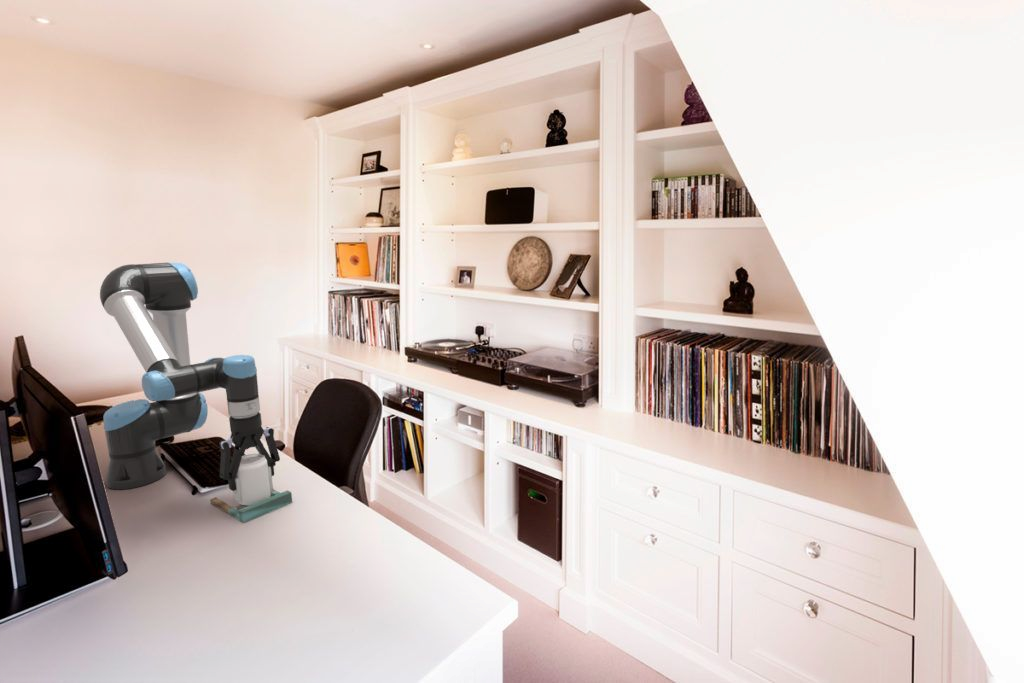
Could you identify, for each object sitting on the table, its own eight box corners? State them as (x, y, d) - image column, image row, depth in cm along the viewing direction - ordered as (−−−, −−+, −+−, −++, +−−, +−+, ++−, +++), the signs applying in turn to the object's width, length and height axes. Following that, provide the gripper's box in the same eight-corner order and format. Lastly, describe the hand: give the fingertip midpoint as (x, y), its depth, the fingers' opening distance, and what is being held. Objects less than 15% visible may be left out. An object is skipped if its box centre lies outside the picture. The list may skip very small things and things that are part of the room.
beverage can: (258, 508, 143) (253, 466, 141) (231, 505, 145) (226, 463, 143) (277, 494, 151) (272, 453, 149) (251, 492, 153) (246, 451, 150)
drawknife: (210, 503, 150) (209, 493, 149) (258, 485, 160) (257, 475, 160) (243, 523, 139) (242, 512, 138) (292, 502, 150) (291, 492, 149)
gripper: (210, 428, 133) (221, 513, 137) (289, 406, 149) (296, 483, 154) (196, 422, 137) (207, 505, 142) (274, 401, 154) (282, 476, 158)
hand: (253, 493), depth 148 cm, fingers closed on beverage can, 8 cm apart
